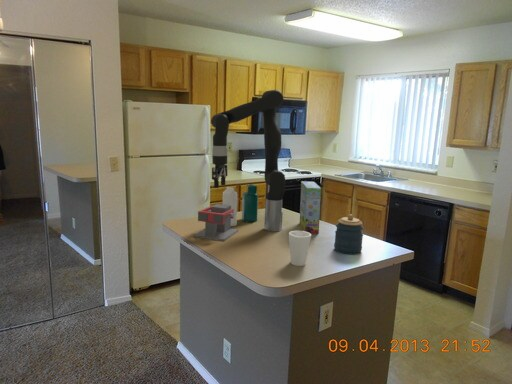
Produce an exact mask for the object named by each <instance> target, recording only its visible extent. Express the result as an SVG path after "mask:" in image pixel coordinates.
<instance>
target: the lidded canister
mask: <svg viewBox="0 0 512 384" xmlns="http://www.w3.org/2000/svg"><path fill="white" fill-rule="evenodd" d="M337 222H338V223H336V224H335V227H336V230H335V235H334V244H333V245H334V246H333V247H334V250H335V251H336V252H338V253H340V254H345V255H358V254H361V253H362V250H363V246H362V245H363V238H364V237H363V236H364V234H363V230H364V229H365V227H364V226H363V221H361V220H360V219H359V218H356V217H354V215H353V214H348V215H347V216H345V217H344V216H343V217H341V218H339V219H338V220H337Z"/></svg>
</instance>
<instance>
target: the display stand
mask: <svg viewBox="0 0 512 384" xmlns="http://www.w3.org/2000/svg"><path fill="white" fill-rule="evenodd" d="M230 209H231V205H223V204H221V203H216V204H214V205H212V207H211V210H209V211H207V212H214V213H224V212H226V211H228V210H230ZM233 216H234V213H230V214H229V215H227V216H225V224H217V223H210V222H204V223H205V224H204V225H205V226H204V227H205V228H203V229H200V230H199V231H198V232H196V233H194V234H193V237H194V238H202V239H207V240H213V241H221V242H225V241H227V240H228V239H230V238H231V237H232V236H234V235H235V234H237V233H238V232H239V231H240V230H239V229H237V228H232V226H231V217H233Z"/></svg>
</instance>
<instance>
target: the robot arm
mask: <svg viewBox="0 0 512 384" xmlns="http://www.w3.org/2000/svg"><path fill="white" fill-rule="evenodd" d="M283 102H284V95H283V93H282V92H281V91H280V90H277V89H271V90H270V89H269V90H266V91H264V92H263V93H262V96H261V98H258V99H255V100H253V101H250V102H246V103H243V104H239V105H238V106H237V105H236V106H235V107H232V108H231V109H229V110H225V111H223V112H219V113H216V114H214V115H213V116H212V117H211V120H210V124H211V126H212V127H213V128H214V129H215V131H214V134H213V135H212V154H211V155H212V157H211V158H212V161H211V162H212V165H214V166H213V167H212V168H211V180H213V188H215V189H218V188H220V187H219V186H220V185H221V186H226V178H227V177H228V165H227V164H228V133H229V126H230V124H232V123H238V122H240V121H242V120H245V119H247V118H249V117H252V116H254V115H256V114H258V113H259V114H260V113H261V112H262V116H263V134H264V135H263V138H264V139H263V140H264V143H263V144H264V157H265V159H264V161H265V162H264V165H265V166H264V182H265V183H266V184H267V185H268V191H267V193H266V194H265V201H264V202H265V206H264V225H263V226H264V228H263V229H264V230H265V231H268V232H280V231H281V230H282V229H283V212H282V210H283V197H284V195H285V187H286V176H285V174H284V172H282V171H280V170H279V166H278V163H279V157H280V153H281V150H282V142H283V141H282V131H281V128H280V126H279V123H278V120H277V113H276V112H277V108H279V107H280V106H282V104H283Z"/></svg>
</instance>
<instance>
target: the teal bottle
mask: <svg viewBox="0 0 512 384" xmlns="http://www.w3.org/2000/svg"><path fill="white" fill-rule="evenodd" d="M245 186H246V187H247V190H246V191H243V193H242V196H241V197H242V198H241V199H242V202H241V203H242V204H241V220H242V221H243V222H245V223H254V222H255V223H256V222H257V221H258V213H259V212H258V211H259V210H258V209H259V194H258V193H257V192H258V186H257V185H255V184H252V183H251V184H246V185H245Z"/></svg>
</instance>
